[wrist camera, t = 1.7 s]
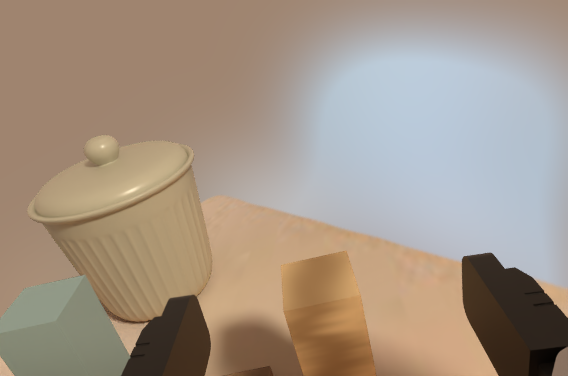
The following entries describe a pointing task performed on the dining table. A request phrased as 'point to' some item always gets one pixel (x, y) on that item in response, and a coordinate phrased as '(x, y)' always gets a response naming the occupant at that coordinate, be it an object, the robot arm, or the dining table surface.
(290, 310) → the oak post
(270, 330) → the dining table surface
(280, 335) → the dining table surface
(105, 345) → the frame base
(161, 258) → the canister
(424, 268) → the dining table surface
